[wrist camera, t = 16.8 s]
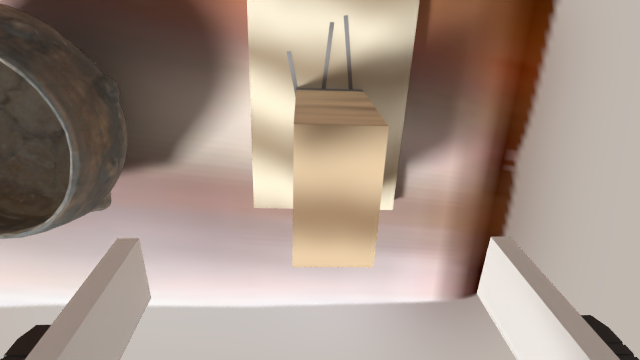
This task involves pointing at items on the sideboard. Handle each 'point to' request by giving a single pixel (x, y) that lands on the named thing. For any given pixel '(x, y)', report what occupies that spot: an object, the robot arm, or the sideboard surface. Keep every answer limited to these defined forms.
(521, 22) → the sideboard surface
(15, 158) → the bowl
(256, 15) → the board
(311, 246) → the block
